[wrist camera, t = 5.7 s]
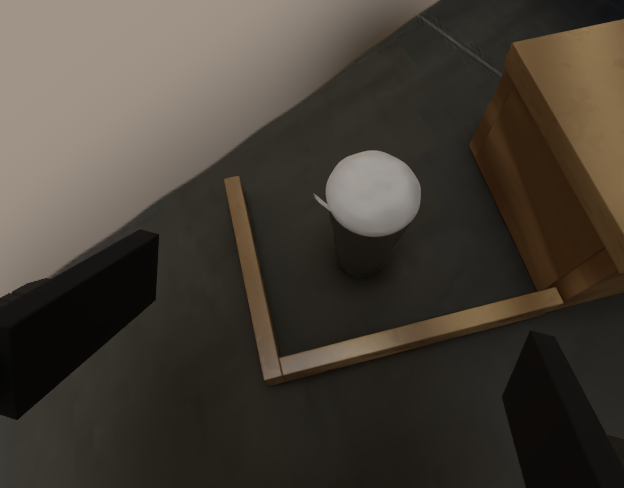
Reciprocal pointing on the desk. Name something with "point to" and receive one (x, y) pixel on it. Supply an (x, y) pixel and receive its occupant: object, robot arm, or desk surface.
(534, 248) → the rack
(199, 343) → the desk surface
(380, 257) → the milkshake
